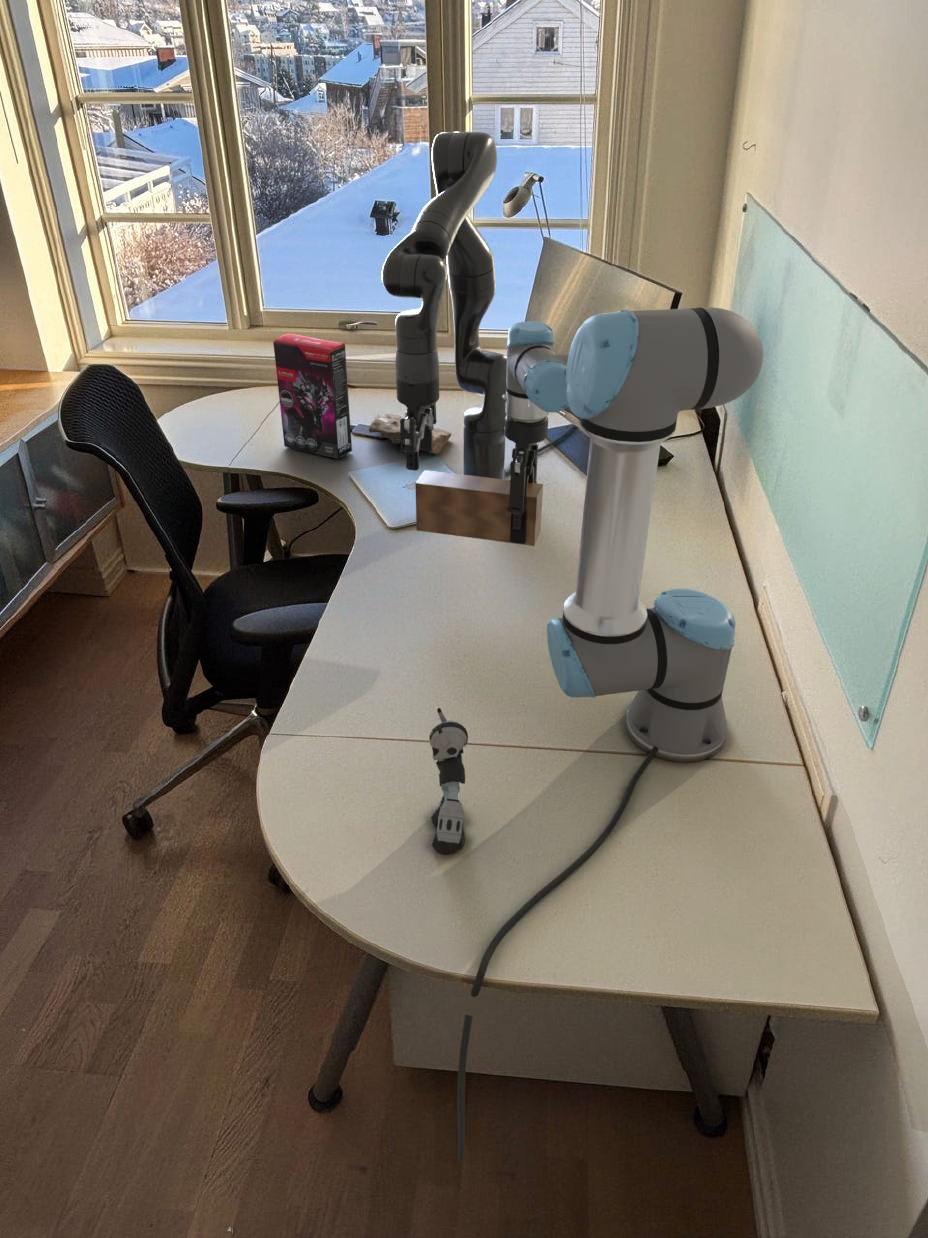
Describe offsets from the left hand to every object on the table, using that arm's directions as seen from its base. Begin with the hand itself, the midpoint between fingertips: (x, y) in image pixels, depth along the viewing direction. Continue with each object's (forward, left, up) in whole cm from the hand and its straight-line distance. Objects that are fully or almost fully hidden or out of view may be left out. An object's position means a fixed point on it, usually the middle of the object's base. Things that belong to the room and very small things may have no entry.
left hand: (419, 459), depth 169 cm
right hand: (0, +20, -12) cm, 23 cm away
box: (+1, +11, -13) cm, 17 cm away
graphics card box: (-49, -43, -24) cm, 69 cm away
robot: (+65, +24, -24) cm, 73 cm away
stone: (-59, -23, -24) cm, 67 cm away
